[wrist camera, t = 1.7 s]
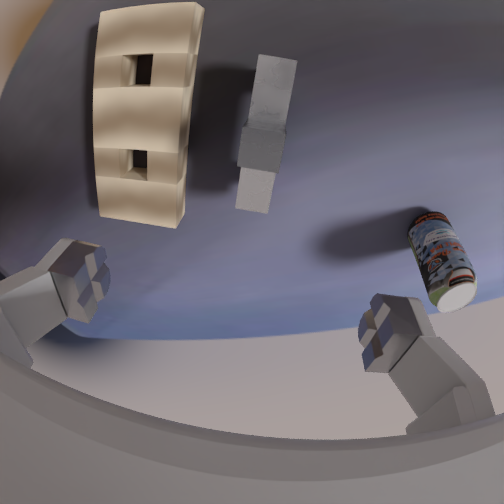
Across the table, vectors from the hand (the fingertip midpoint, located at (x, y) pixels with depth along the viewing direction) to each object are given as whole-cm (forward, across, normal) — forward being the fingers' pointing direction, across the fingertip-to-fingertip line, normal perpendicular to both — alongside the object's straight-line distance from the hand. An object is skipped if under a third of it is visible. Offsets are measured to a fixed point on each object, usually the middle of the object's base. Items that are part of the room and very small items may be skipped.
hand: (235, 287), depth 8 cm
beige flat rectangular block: (+24, +13, 0) cm, 27 cm away
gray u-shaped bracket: (+24, 0, 0) cm, 24 cm away
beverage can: (+24, -22, +8) cm, 33 cm away
